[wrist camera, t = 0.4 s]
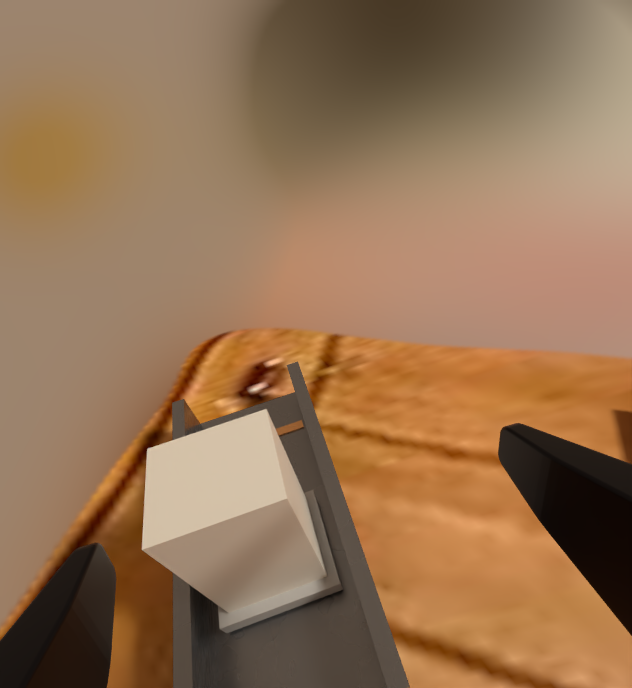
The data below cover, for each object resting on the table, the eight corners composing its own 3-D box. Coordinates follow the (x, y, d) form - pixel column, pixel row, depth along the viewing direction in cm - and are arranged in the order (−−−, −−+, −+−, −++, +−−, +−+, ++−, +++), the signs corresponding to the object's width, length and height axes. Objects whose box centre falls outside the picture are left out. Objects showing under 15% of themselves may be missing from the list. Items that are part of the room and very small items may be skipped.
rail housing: (411, 696, 17) (409, 686, 15) (213, 776, 17) (173, 781, 14) (308, 396, 30) (297, 361, 28) (195, 434, 30) (172, 402, 27)
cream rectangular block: (343, 589, 20) (304, 507, 13) (226, 633, 19) (125, 571, 13) (316, 497, 23) (275, 396, 17) (217, 532, 23) (135, 442, 16)
